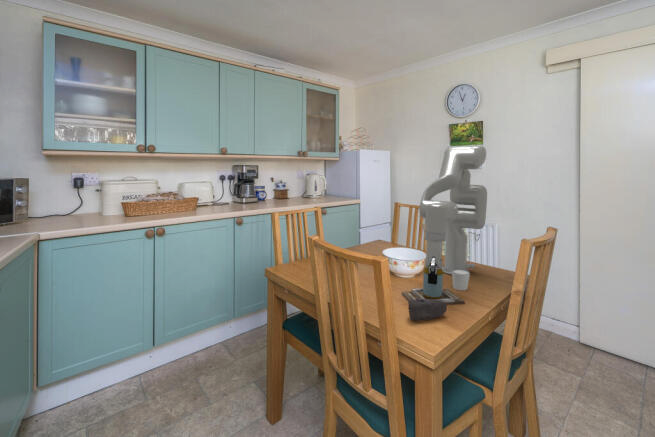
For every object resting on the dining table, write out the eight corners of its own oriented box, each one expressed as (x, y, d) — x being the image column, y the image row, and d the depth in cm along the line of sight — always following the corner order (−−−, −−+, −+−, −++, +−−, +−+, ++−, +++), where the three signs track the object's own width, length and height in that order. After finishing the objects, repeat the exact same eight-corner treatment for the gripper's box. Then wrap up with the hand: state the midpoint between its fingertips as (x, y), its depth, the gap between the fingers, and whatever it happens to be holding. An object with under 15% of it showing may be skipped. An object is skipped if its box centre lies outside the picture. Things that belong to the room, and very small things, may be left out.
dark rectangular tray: (448, 291, 129) (448, 286, 129) (464, 303, 117) (465, 298, 117) (401, 294, 126) (402, 289, 126) (414, 307, 115) (414, 302, 114)
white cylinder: (472, 289, 131) (473, 273, 130) (458, 291, 129) (460, 275, 128) (461, 284, 137) (462, 268, 136) (447, 285, 135) (448, 270, 134)
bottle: (428, 301, 117) (430, 262, 115) (419, 293, 124) (420, 257, 122) (445, 299, 119) (447, 261, 116) (435, 292, 125) (437, 256, 123)
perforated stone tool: (442, 312, 110) (443, 294, 109) (450, 319, 105) (452, 300, 104) (402, 317, 107) (403, 298, 106) (409, 324, 102) (410, 304, 101)
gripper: (426, 231, 127) (425, 271, 130) (422, 240, 111) (420, 286, 114) (446, 232, 124) (444, 273, 127) (445, 241, 109) (442, 288, 111)
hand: (433, 279), depth 121 cm, fingers open, 9 cm apart
